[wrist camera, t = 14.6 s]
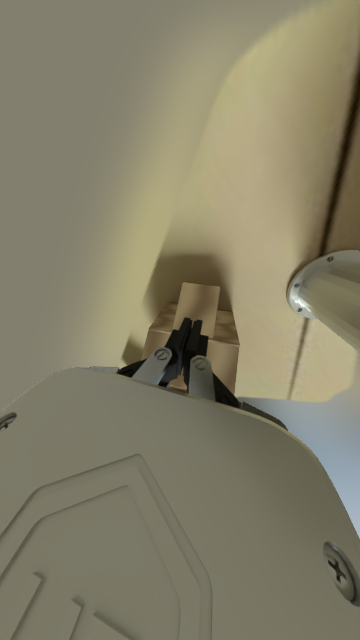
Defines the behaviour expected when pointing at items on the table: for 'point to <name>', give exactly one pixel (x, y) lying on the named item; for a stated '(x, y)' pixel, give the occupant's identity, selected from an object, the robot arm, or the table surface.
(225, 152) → the table surface
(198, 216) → the table surface
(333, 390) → the table surface
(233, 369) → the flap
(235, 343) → the carton
